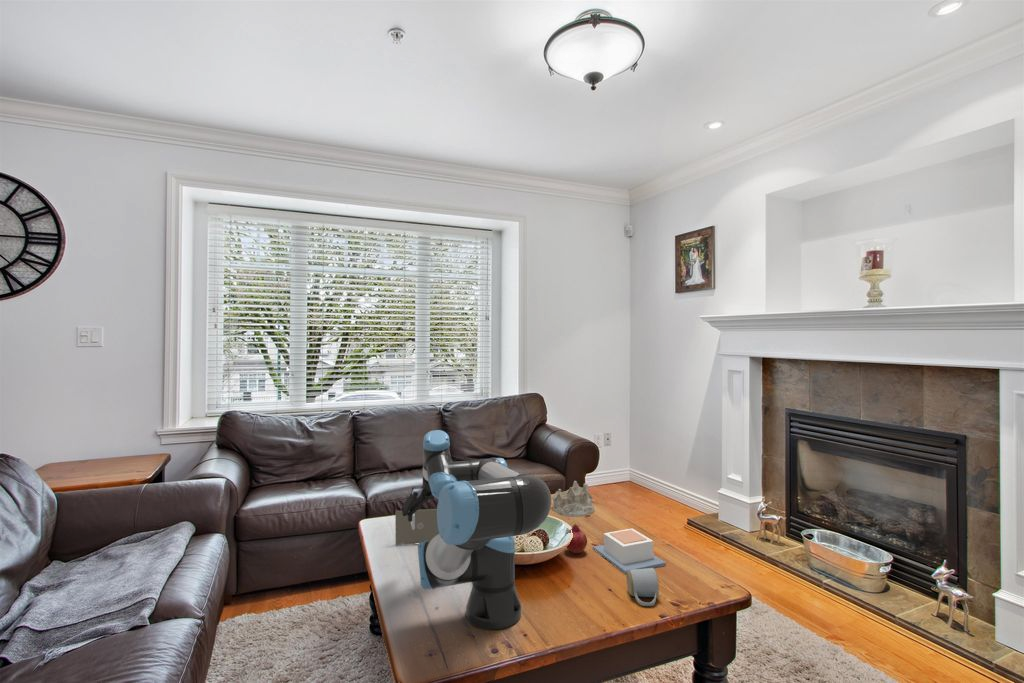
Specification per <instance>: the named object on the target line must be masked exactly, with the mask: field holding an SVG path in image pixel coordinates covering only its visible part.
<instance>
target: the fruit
mask: <svg viewBox="0 0 1024 683" xmlns="http://www.w3.org/2000/svg"><path fill="white" fill-rule="evenodd" d="M571 530H572V533H573V538H572V540H571V542H570V544H569V545H568V546H567V548H566V549H568V551H569V552H571V553H573V554H579V553H581V552H583V551H584V550H585V549H586V548H587V546H588V538H587V535H586V533H585V532H584V530H582V529H580V528H579V526H578V524H577V523H576V524H573V525H572V528H571ZM571 530H570V529H569V530H567V532H566V533H565V535H566V534H568V533H571Z"/></svg>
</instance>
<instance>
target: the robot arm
mask: <svg viewBox="0 0 1024 683" xmlns="http://www.w3.org/2000/svg"><path fill="white" fill-rule="evenodd" d="M422 443H423V444H422V486H421V487H420V488H417V487H411V492H410V494H409V496H408V497H407V499H406V501H405V502H404V504H403V505H402V507H401V510H400V511H402V514H403V516H406V515H408V516H407V518H408V521H409V522H411V526H412V530H414V529H415V514H414V513H415V512H416V511H417V510H420V508H421V507H422V506H423V505H424V504H425V503H428V501H429V500H432V499H437V501H438V503H437V506H436V509H437V524H438V530H439V534H438V535H436V536H435V537H434V538H433V539H432V540H431V541H428V540H426V541H424V542H420V543H419V544H417V555H418V556H417V557H418V565H419V566H418V567H419V577H420V578H419V580H420V587H421V588H422V589H423V590H435V589H438V588H444V587H450V586H451V587H452V586H457V585H461V584H463V585H464V584H468V583H472V586H471V589H470V594H469V596H468V600H467V602H466V605H465V606H466V607H465V608H466V609H465V617H466V619H467V621H468V622H469V623H470V624H471V625H472V626H474V627H477V628H479V629H483V630H502V629H506V628H509V627H511V626H513V625H515V624H516V623H517V622H518V621H519V620H520V619H521V616H522V604H521V601H520V598H519V594H518V591H517V588H516V585H515V584H516V583H515V582H516V581H515V580H516V578H515V577H516V575H515V573H516V572H515V570H516V569H515V566H516V565H515V561H516V560H515V559H516V558H515V556H516V554H515V553H516V547H515V537H518V536H523V535H526V534H529V533H531V532H533V531H534V530H536V529H539V527H540V526H541V525H542V524H543V523H544V522H545V521H546V519H547V518H548V517H549V514H550V511H551V507H552V494H551V491H550V489H549V487H548V485H547V484H546V482H545V481H544V480H543V479H541V478H540V477H538V476H536V475H534V474H531V473H527V472H526V473H519V472H517V471H514V470H513V469H510V468H508V463H507V462H506V459H504V458H502V457H490V458H480V459H473V460H460V461H459V460H457V461H453V458H452V455H451V452H450V447H451V443H450V436H449V434H448V433H447V432H446V431H444V430H440V429H436V430H430V431H429V432H427V433H426V434H424V436H423V442H422Z"/></svg>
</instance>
